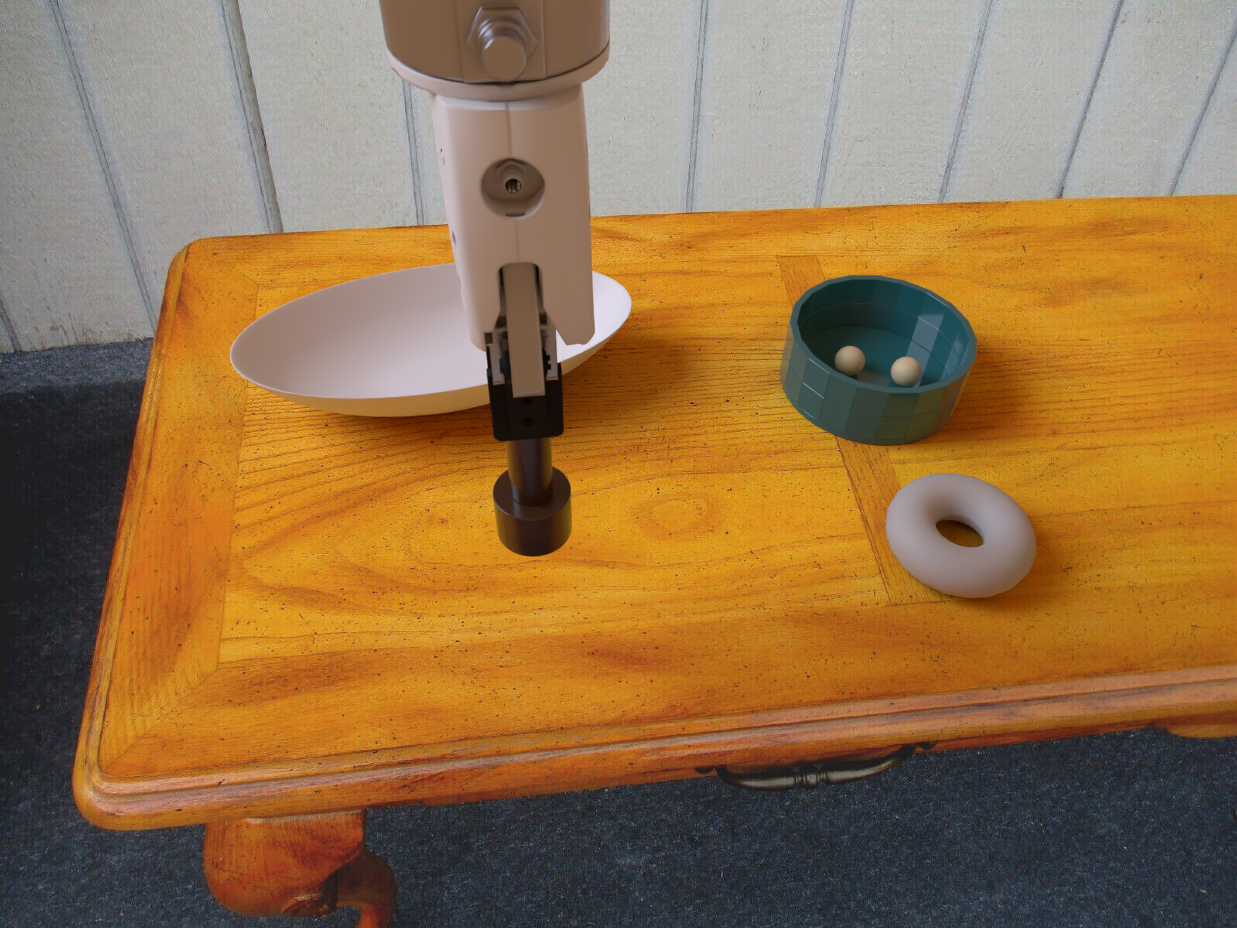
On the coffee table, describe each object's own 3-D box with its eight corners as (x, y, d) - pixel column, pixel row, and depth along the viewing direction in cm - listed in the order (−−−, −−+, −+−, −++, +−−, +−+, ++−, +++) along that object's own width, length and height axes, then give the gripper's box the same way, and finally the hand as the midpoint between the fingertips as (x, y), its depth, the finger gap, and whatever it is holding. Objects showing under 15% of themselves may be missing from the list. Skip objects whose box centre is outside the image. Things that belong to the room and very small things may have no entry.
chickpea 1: (867, 374, 77) (874, 351, 76) (847, 386, 76) (853, 363, 75) (845, 358, 79) (851, 335, 77) (825, 370, 78) (831, 347, 76)
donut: (850, 527, 67) (950, 631, 61) (860, 495, 65) (965, 600, 59) (954, 477, 71) (1058, 571, 65) (967, 444, 68) (1077, 538, 62)
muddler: (587, 533, 51) (584, 324, 41) (524, 569, 49) (505, 360, 39) (543, 488, 53) (531, 279, 43) (482, 522, 51) (454, 312, 41)
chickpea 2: (924, 385, 77) (932, 362, 75) (904, 397, 76) (912, 374, 74) (901, 369, 78) (908, 346, 76) (881, 380, 77) (888, 358, 75)
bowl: (603, 300, 84) (605, 241, 79) (653, 415, 74) (658, 356, 70) (249, 353, 78) (229, 293, 73) (253, 487, 68) (230, 426, 64)
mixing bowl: (992, 395, 77) (1015, 342, 73) (874, 473, 71) (892, 420, 67) (860, 306, 84) (874, 254, 80) (743, 370, 78) (752, 317, 74)
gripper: (648, 116, 26) (630, 536, 40) (581, -77, 37) (585, 304, 51) (372, 130, 26) (449, 554, 39) (386, -71, 36) (443, 314, 50)
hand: (526, 410), depth 45 cm, fingers closed on muddler, 2 cm apart
